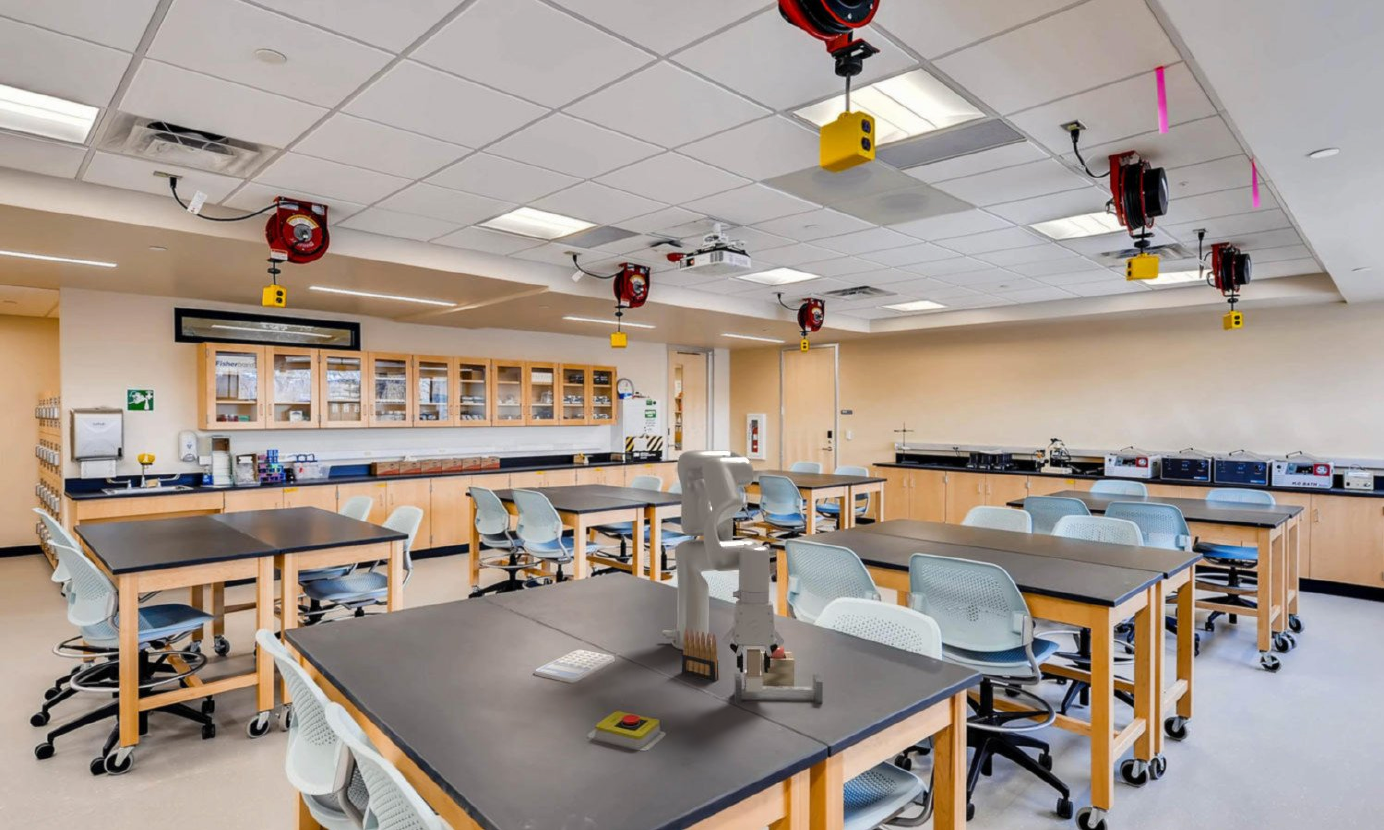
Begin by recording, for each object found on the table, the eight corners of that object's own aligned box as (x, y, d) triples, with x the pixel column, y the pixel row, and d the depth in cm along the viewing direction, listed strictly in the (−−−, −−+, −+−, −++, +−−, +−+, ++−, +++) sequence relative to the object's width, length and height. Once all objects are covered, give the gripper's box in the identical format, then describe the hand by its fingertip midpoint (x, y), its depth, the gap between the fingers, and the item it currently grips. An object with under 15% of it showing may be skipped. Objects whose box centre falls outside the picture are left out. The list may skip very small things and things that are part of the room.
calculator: (616, 661, 194) (616, 655, 194) (573, 685, 176) (573, 677, 176) (578, 654, 200) (578, 647, 200) (532, 676, 182) (532, 669, 182)
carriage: (746, 691, 165) (746, 653, 165) (744, 681, 171) (744, 645, 171) (762, 691, 165) (762, 653, 165) (760, 682, 171) (760, 645, 171)
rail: (735, 701, 165) (735, 680, 165) (734, 693, 170) (734, 673, 170) (822, 702, 165) (822, 681, 165) (818, 694, 170) (818, 674, 170)
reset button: (770, 664, 176) (771, 650, 176) (769, 660, 180) (769, 645, 180) (785, 665, 176) (785, 650, 176) (783, 660, 180) (783, 645, 180)
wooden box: (762, 686, 175) (762, 659, 175) (760, 678, 181) (760, 651, 181) (794, 687, 175) (794, 659, 175) (790, 678, 181) (791, 651, 181)
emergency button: (646, 732, 140) (585, 718, 146) (646, 754, 140) (584, 739, 146) (667, 715, 148) (608, 702, 155) (667, 735, 148) (608, 722, 155)
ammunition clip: (718, 679, 180) (719, 633, 180) (715, 681, 178) (715, 635, 178) (685, 671, 186) (685, 626, 186) (681, 673, 184) (681, 628, 184)
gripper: (719, 600, 164) (718, 675, 164) (791, 600, 164) (790, 676, 164) (718, 592, 172) (717, 664, 172) (786, 593, 172) (786, 665, 172)
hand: (753, 669), depth 168 cm, fingers open, 5 cm apart
